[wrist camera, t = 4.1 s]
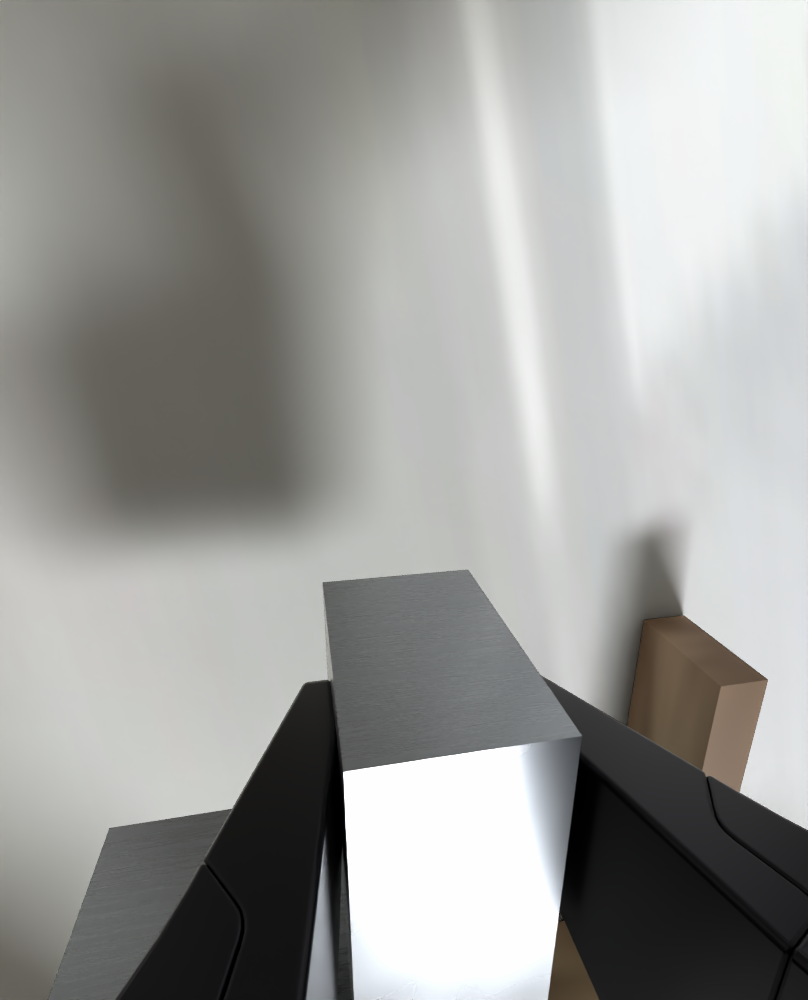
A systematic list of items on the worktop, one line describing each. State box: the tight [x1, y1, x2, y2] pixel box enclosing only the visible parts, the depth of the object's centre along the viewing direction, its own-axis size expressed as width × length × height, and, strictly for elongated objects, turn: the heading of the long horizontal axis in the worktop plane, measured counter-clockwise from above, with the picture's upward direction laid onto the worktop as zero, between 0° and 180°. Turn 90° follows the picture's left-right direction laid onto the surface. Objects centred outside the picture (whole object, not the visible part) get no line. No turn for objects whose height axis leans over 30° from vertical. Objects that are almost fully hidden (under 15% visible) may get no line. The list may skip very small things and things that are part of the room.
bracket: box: [48, 570, 582, 1000], centre depth 8 cm, size 7×6×4 cm
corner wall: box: [548, 615, 768, 1000], centre depth 18 cm, size 13×16×4 cm
